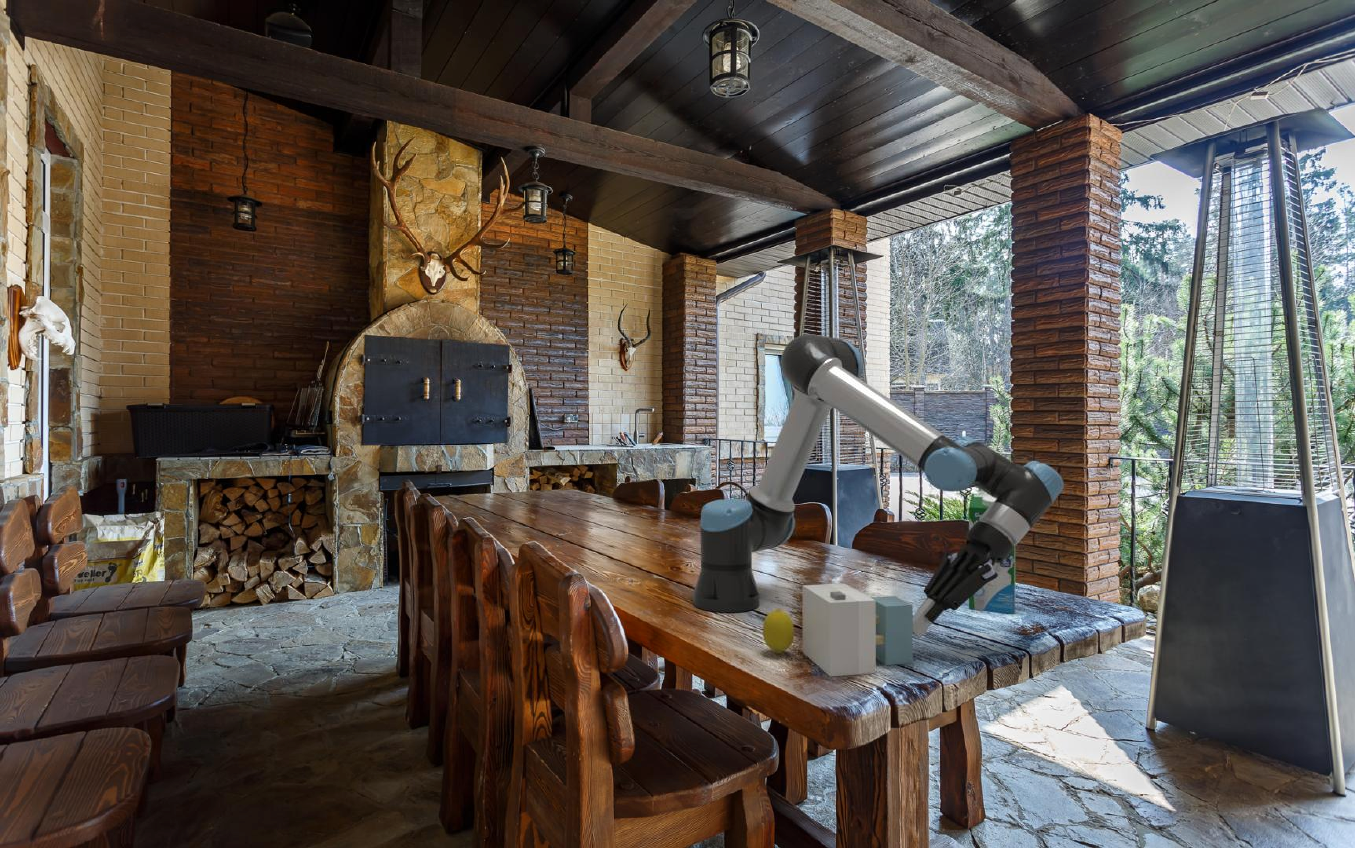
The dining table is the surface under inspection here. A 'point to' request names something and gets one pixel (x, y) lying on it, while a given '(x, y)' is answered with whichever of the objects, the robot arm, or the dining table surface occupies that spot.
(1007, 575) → the milk carton
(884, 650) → the plug
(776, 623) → the lemon
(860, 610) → the socket
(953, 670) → the dining table surface
